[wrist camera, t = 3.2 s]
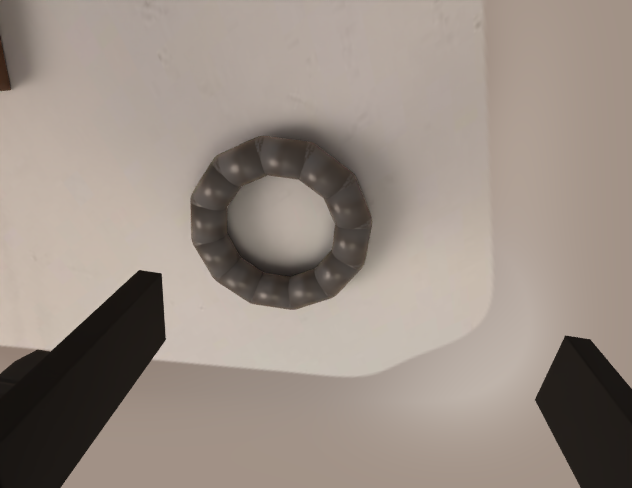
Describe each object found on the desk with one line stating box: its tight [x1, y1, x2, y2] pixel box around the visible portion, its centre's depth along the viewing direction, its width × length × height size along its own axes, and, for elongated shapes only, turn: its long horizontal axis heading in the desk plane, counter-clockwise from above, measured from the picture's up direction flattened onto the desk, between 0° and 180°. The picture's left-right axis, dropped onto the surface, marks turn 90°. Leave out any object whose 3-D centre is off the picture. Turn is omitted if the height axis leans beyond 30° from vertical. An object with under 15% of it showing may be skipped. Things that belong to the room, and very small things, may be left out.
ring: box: [191, 136, 372, 310], centre depth 20 cm, size 9×9×2 cm
